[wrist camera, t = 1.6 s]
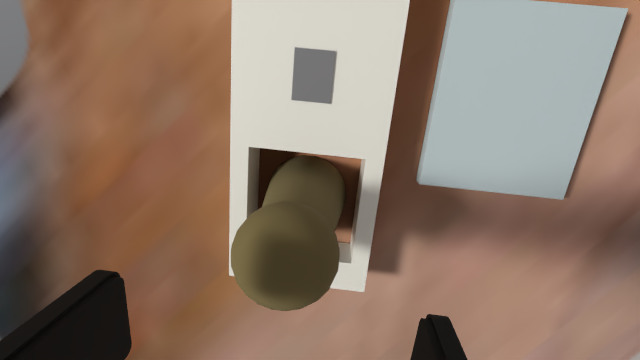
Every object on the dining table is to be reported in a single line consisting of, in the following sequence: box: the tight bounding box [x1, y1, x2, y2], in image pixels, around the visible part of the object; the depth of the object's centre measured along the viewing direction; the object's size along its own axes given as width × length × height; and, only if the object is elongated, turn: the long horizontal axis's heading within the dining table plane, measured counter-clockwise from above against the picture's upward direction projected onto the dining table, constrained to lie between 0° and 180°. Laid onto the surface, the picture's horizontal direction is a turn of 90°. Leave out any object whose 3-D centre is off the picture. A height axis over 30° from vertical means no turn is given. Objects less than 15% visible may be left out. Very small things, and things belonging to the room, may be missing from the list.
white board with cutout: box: [229, 0, 410, 292], centre depth 21 cm, size 24×10×3 cm, turn 175°
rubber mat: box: [416, 0, 628, 200], centre depth 20 cm, size 12×10×1 cm
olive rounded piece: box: [231, 155, 346, 311], centre depth 18 cm, size 6×6×11 cm
